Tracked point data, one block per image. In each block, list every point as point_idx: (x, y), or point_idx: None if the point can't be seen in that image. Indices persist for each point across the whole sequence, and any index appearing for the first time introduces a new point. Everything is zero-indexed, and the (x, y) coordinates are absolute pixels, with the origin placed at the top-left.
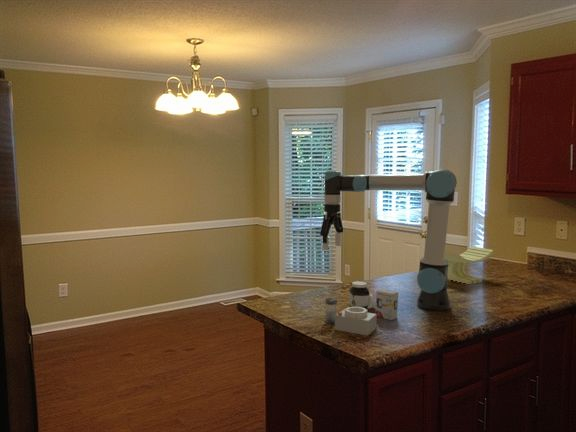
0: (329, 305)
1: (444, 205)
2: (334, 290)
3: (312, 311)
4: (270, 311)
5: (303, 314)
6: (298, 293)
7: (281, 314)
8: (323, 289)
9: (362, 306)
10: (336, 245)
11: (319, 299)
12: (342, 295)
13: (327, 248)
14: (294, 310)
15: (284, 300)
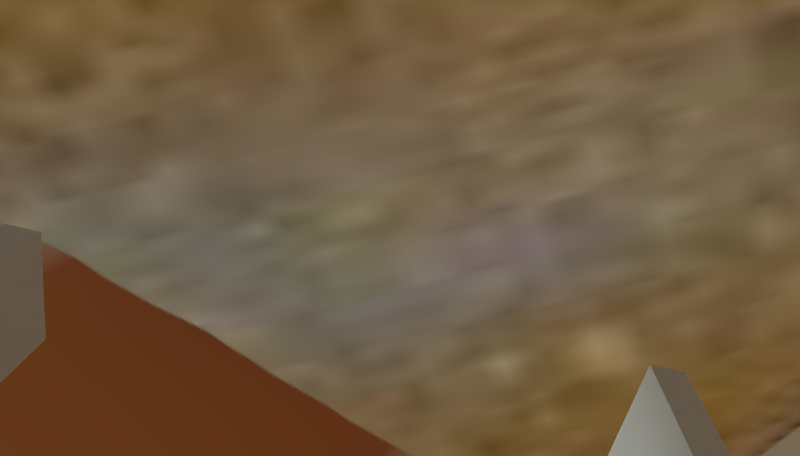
0: None
1: None
2: (67, 145)
3: (683, 165)
4: (732, 401)
5: (769, 205)
6: (273, 355)
7: (789, 331)
8: (86, 228)
9: None
10: (39, 314)
11: (360, 192)
12: (173, 50)
13: (694, 402)
14: (683, 282)
15: (469, 390)
